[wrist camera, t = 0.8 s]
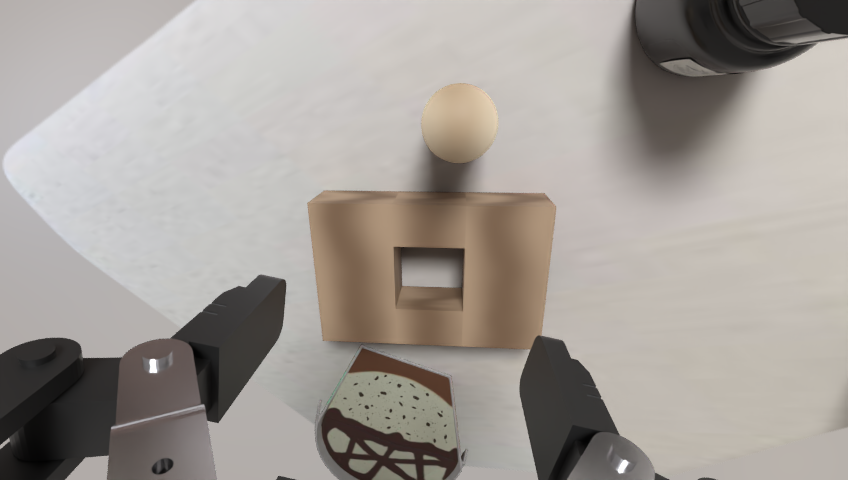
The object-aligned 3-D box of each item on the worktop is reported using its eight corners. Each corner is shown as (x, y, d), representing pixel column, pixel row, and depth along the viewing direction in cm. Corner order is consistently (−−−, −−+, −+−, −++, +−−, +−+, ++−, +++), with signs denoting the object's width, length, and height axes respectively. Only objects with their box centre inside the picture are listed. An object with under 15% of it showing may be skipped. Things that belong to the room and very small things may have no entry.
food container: (330, 386, 40) (291, 475, 31) (346, 339, 38) (310, 420, 28) (443, 424, 41) (439, 524, 31) (465, 380, 38) (468, 473, 29)
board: (544, 193, 31) (556, 206, 28) (530, 322, 35) (539, 349, 32) (324, 190, 33) (307, 203, 29) (336, 315, 37) (322, 340, 33)
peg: (487, 85, 29) (501, 81, 20) (484, 142, 30) (496, 164, 21) (431, 86, 29) (419, 82, 20) (431, 142, 31) (420, 163, 21)
